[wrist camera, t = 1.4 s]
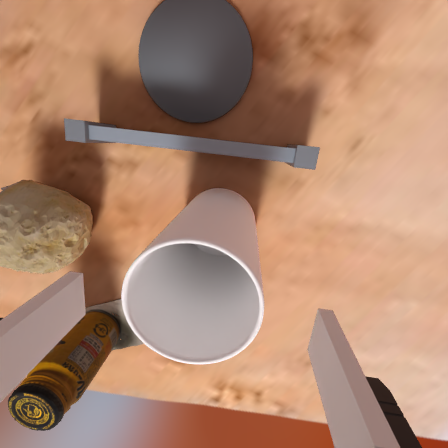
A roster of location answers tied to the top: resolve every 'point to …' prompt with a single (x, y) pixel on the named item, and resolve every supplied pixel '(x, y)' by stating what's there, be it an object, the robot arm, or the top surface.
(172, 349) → the cup
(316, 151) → the grey barrier wall
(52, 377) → the condiment
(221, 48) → the slate coaster
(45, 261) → the beige rough lump
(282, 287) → the top surface
